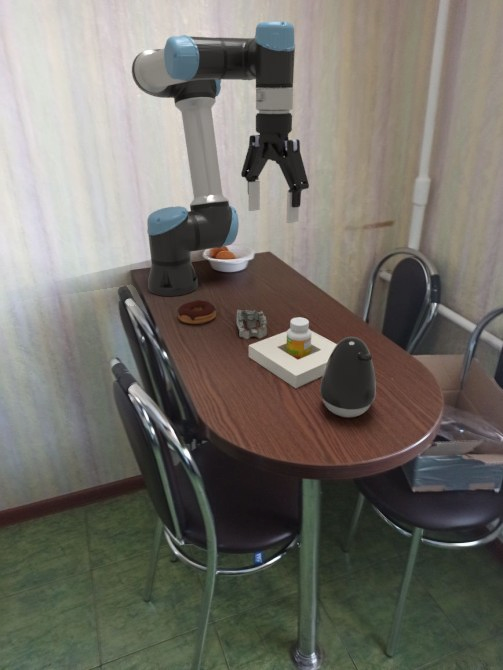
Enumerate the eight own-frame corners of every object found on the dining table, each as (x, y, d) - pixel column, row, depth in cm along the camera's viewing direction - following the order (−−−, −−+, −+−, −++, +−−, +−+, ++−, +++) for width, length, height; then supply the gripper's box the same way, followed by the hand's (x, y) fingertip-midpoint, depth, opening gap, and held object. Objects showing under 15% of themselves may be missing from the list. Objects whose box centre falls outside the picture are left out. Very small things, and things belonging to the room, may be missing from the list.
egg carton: (267, 339, 116) (267, 325, 114) (236, 340, 116) (236, 325, 114) (265, 320, 125) (265, 306, 123) (236, 320, 125) (236, 306, 123)
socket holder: (248, 356, 108) (248, 345, 107) (300, 336, 116) (301, 325, 115) (295, 388, 97) (296, 375, 95) (349, 363, 105) (350, 351, 104)
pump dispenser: (338, 432, 84) (345, 358, 77) (309, 400, 93) (313, 331, 86) (384, 417, 88) (395, 346, 81) (352, 388, 96) (360, 321, 89)
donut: (211, 308, 132) (211, 295, 130) (220, 323, 123) (219, 309, 122) (175, 313, 129) (174, 300, 127) (181, 329, 121) (180, 315, 119)
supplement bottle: (281, 360, 107) (281, 321, 102) (295, 351, 110) (297, 313, 105) (299, 368, 103) (301, 329, 99) (314, 359, 107) (317, 320, 102)
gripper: (224, 110, 104) (227, 207, 114) (301, 115, 86) (297, 230, 96) (251, 109, 108) (252, 203, 118) (330, 113, 90) (323, 224, 100)
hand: (272, 215), depth 107 cm, fingers open, 13 cm apart
